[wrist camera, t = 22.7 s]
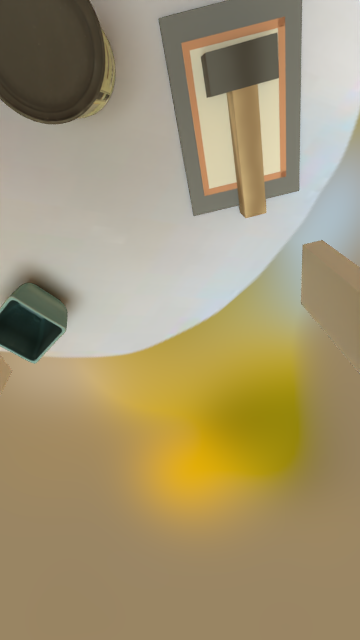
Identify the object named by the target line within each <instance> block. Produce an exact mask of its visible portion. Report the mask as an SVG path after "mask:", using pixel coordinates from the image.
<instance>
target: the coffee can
mask: <svg viewBox="0 0 360 640" xmlns="http://www.w3.org/2000/svg"><path fill="white" fill-rule="evenodd" d="M114 83H115V63H114V57H113V53H112V49H111V47H110V44H109V41H108V39H107V38H106V36H105V34H104V32H103V31H102V29H101V27H100V24H99V21H98V18H97V16H96V13H95V11H94V9H93V7H92V5H91V3H90V1H89V0H0V99H1V100H2V101H3V102H4V103H5V104H7V105H8V106H9V107H10V108H11V109H13V110H14V111H16V112H17V113H19V114H20V115H22V116H24V117H26V118H28V119H31V120H33V121H36V122H40V123H45V124H61V123H66V122H70V121H72V120H75V119H77V118H84V117H88V116H91V115H94V114H96V113H97V112H98V111H100V110H101V109H102V108H103V107H104V106H105V105H106V103H107V102H108V100H109V98H110V96H111V94H112V91H113V88H114Z"/></svg>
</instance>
